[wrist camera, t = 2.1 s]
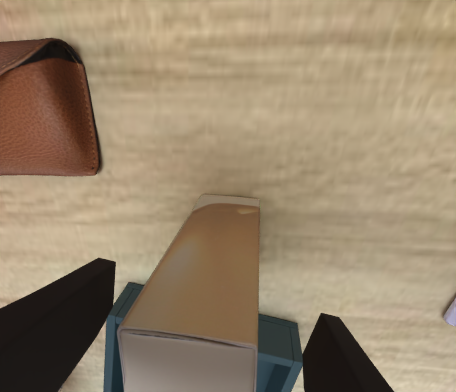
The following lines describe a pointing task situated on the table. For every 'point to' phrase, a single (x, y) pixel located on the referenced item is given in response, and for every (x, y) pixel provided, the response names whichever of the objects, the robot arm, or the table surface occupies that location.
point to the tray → (267, 348)
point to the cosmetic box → (199, 306)
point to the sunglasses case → (45, 111)
